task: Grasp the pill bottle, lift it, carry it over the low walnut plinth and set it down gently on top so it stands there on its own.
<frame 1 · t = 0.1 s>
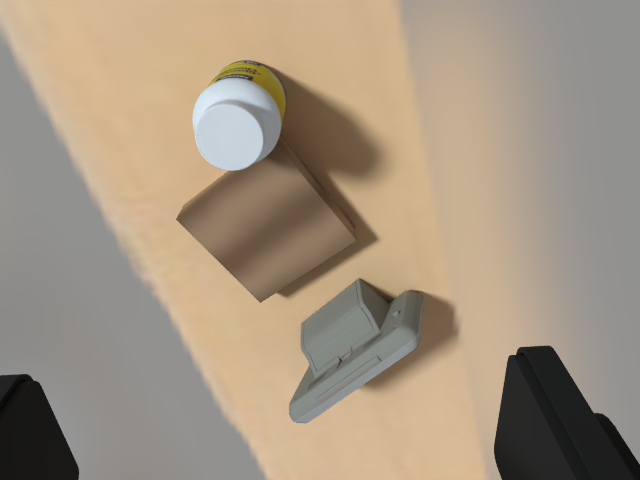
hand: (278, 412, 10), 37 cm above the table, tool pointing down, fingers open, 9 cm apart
walnut block: (270, 215, 49), on the table
pill bottle: (249, 96, 44), on the table
digital clock: (354, 320, 56), on the table
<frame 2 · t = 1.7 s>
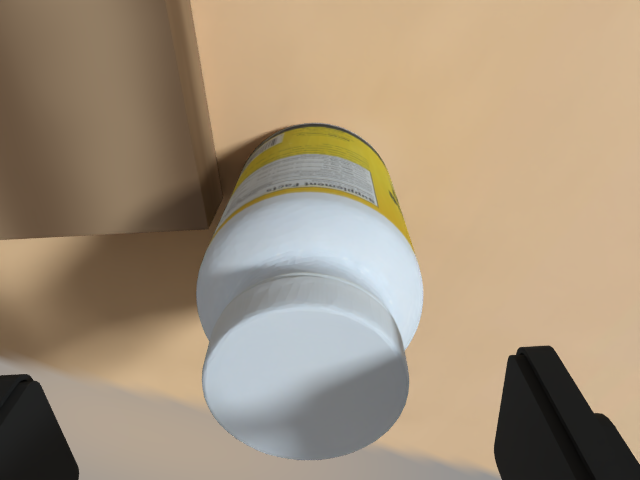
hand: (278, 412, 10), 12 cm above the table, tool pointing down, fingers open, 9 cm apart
walnut block: (41, 60, 19), on the table
pill bottle: (315, 190, 22), on the table
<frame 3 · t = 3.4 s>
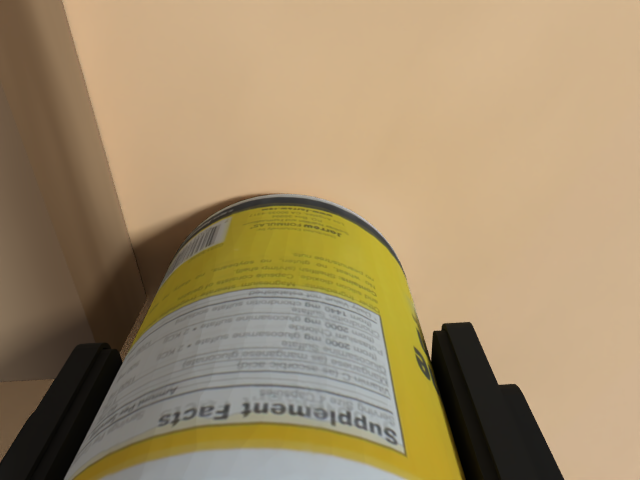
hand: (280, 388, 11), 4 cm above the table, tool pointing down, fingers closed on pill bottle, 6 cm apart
pill bottle: (289, 285, 14), on the table, touching gripper
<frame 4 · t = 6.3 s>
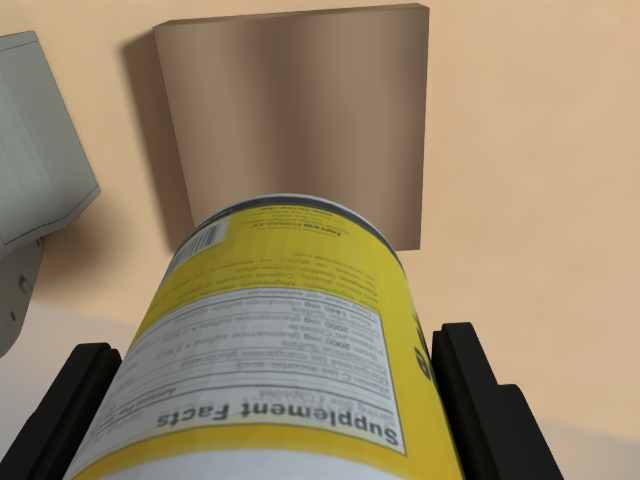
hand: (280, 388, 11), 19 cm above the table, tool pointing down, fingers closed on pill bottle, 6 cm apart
walnut block: (302, 132, 27), on the table
pill bottle: (289, 285, 14), point 15 cm above the table, touching gripper
digital clock: (1, 128, 27), on the table
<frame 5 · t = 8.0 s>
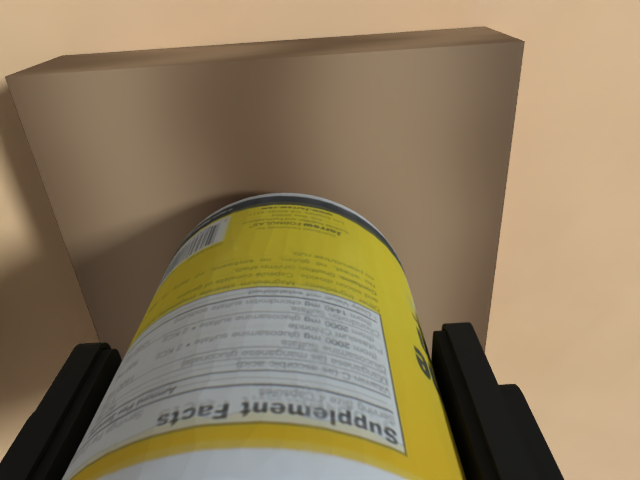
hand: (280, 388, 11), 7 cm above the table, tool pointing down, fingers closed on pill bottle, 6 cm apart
walnut block: (290, 228, 17), on the table
pill bottle: (289, 285, 14), point 3 cm above the table, touching gripper
when the fingers open (7 cm above the table, at t = 9.4 s): pill bottle stays where it is, resting on walnut block.
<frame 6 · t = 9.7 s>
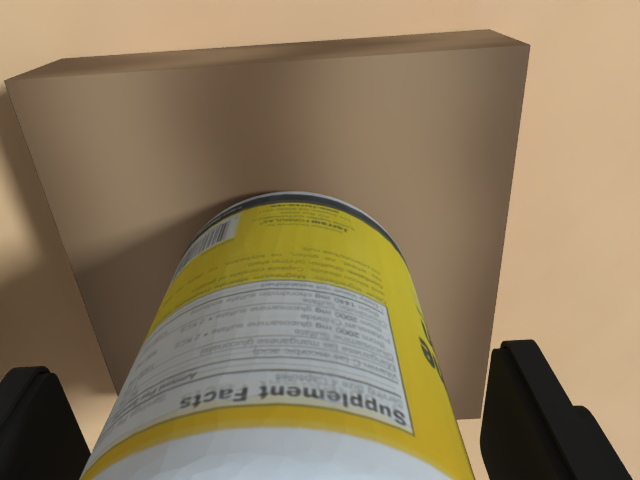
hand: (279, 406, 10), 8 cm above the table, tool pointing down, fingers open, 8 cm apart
walnut block: (292, 232, 17), on the table
pill bottle: (295, 281, 14), point 3 cm above the table, touching walnut block
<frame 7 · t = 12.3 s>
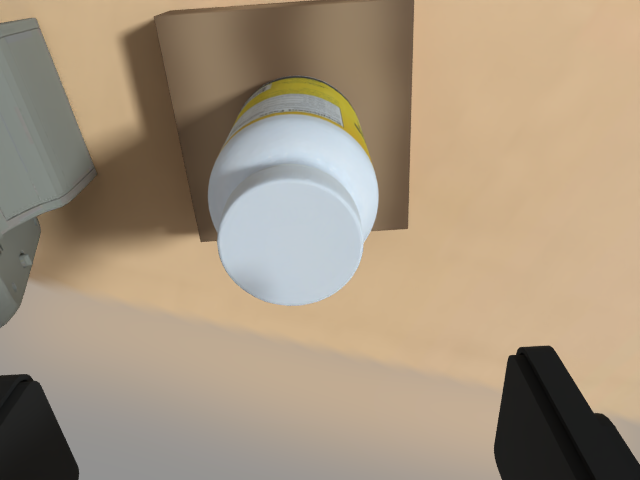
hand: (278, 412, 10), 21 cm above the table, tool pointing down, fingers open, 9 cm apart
walnut block: (296, 118, 28), on the table
pill bottle: (298, 134, 26), point 3 cm above the table, touching walnut block
digital clock: (2, 111, 28), on the table
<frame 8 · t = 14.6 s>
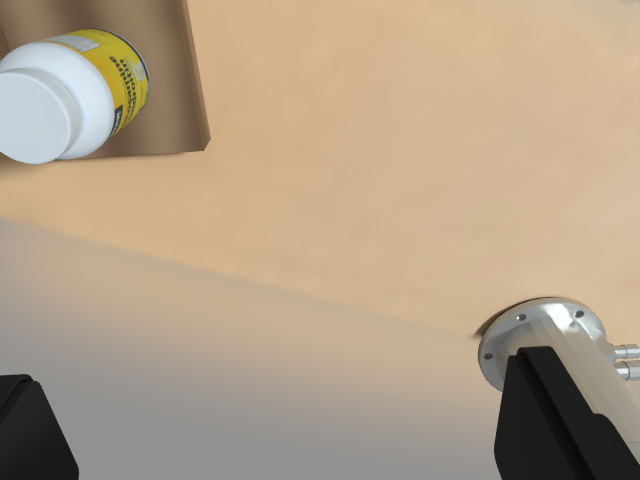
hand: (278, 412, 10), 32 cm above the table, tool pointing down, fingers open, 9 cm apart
walnut block: (118, 66, 38), on the table
pill bottle: (107, 75, 35), point 3 cm above the table, touching walnut block
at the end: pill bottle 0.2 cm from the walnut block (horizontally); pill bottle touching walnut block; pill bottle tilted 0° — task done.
